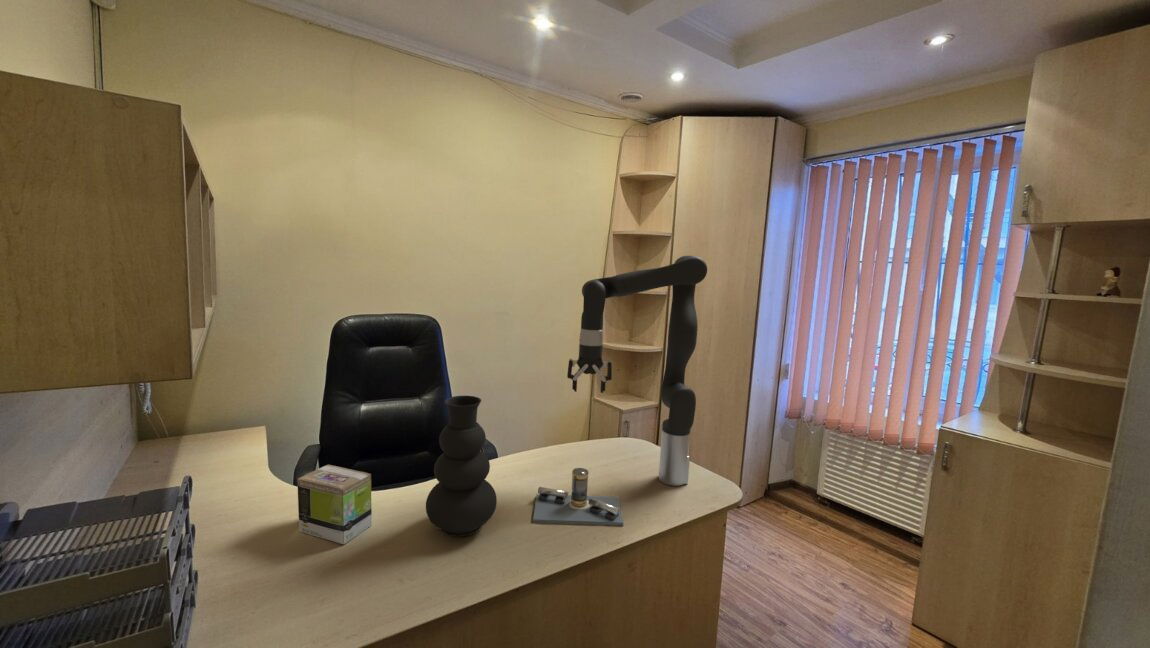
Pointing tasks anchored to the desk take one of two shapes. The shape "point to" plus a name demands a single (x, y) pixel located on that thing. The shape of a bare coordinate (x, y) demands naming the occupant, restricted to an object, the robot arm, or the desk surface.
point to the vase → (461, 473)
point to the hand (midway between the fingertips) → (588, 391)
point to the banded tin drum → (579, 487)
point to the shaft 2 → (599, 506)
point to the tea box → (334, 503)
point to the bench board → (574, 512)
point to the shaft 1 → (552, 494)
